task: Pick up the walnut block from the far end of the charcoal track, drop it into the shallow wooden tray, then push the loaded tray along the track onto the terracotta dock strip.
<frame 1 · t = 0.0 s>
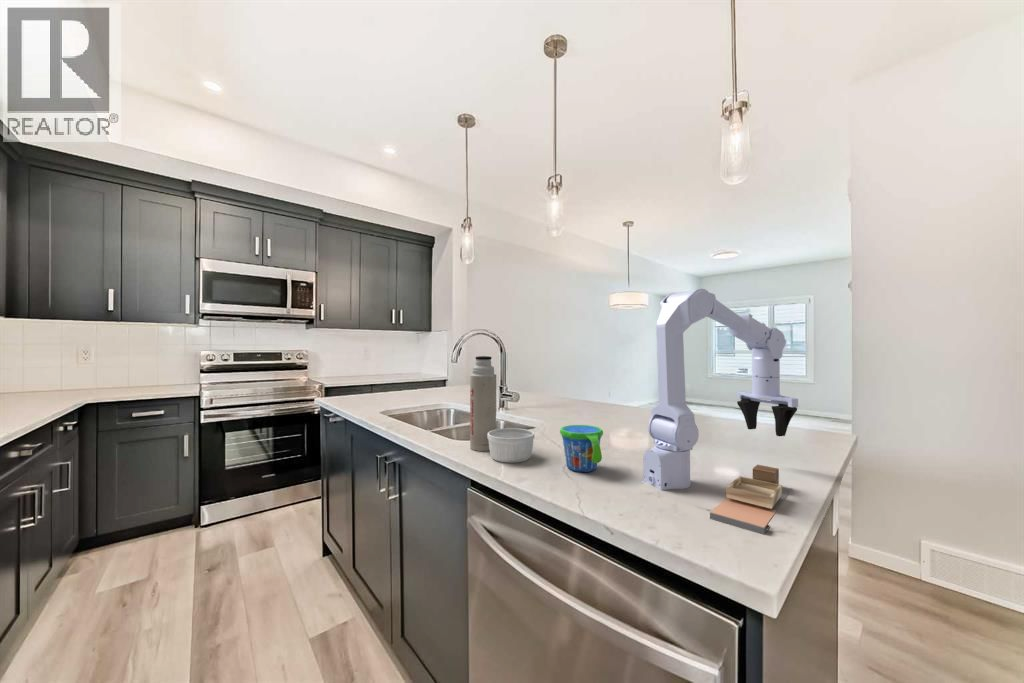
hand: (765, 432, 96), 10 cm above the worktop, tool pointing down, fingers open, 7 cm apart
shallow wooden tray: (754, 492, 78), point 2 cm above the worktop, slide at 0.0 cm
track: (754, 504, 78), on the worktop
block: (765, 487, 84), point 1 cm above the worktop, touching track
ramekin: (511, 458, 110), on the worktop
thermos bottle: (483, 448, 120), on the worktop
snack cup: (581, 469, 100), on the worktop
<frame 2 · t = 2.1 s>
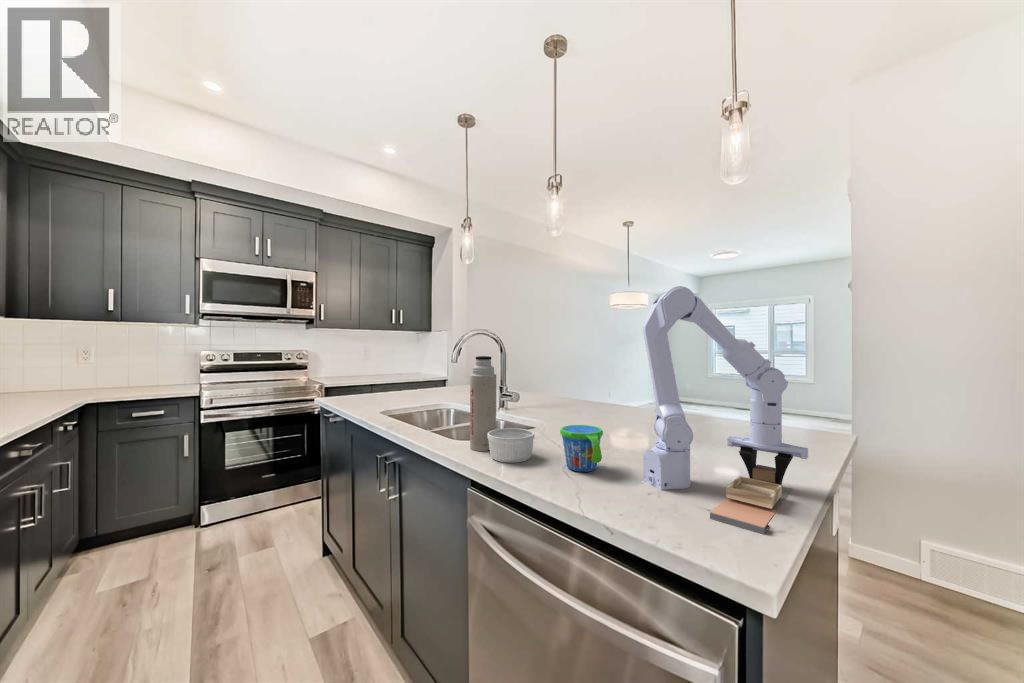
hand: (765, 485, 84), 1 cm above the worktop, tool pointing down, fingers closed on block, 4 cm apart
block: (765, 487, 84), point 1 cm above the worktop, touching gripper, track
everything else where it was.
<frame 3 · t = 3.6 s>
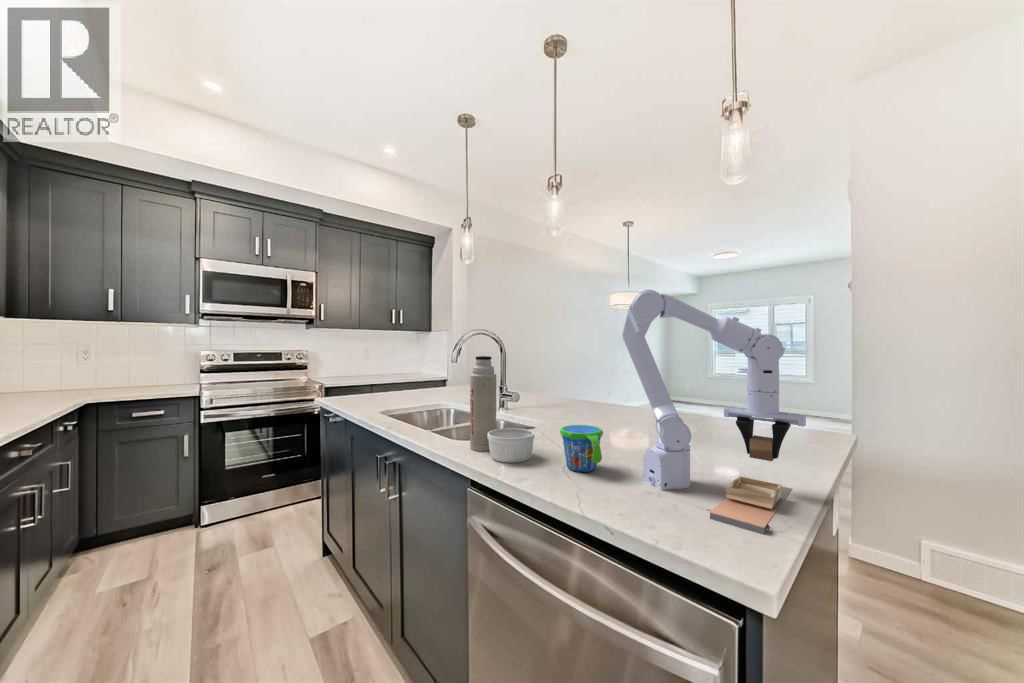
hand: (762, 455, 83), 8 cm above the worktop, tool pointing down, fingers closed on block, 4 cm apart
block: (762, 457, 83), point 8 cm above the worktop, touching gripper
everything else where it was.
when the fingers open (5 cm above the worktop, at t = 5.0 s): block drops 2 cm, resting on shallow wooden tray.
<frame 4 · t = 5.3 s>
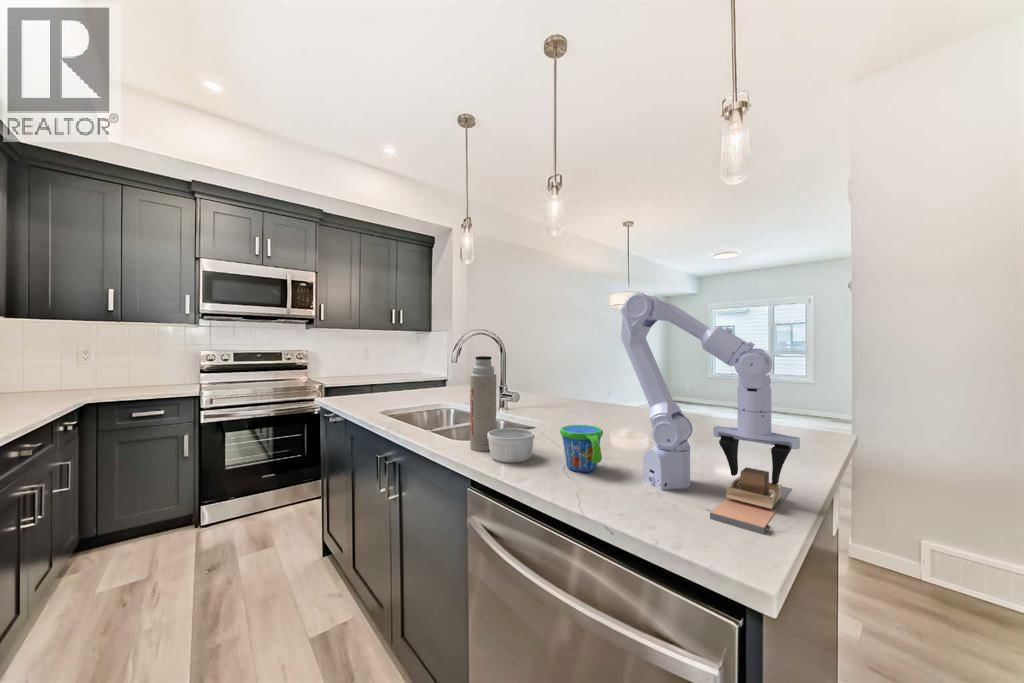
hand: (754, 478, 78), 5 cm above the worktop, tool pointing down, fingers open, 6 cm apart
shallow wooden tray: (754, 492, 78), point 2 cm above the worktop, slide at 0.0 cm, touching block
block: (754, 491, 78), point 2 cm above the worktop, touching shallow wooden tray
everything else where it was.
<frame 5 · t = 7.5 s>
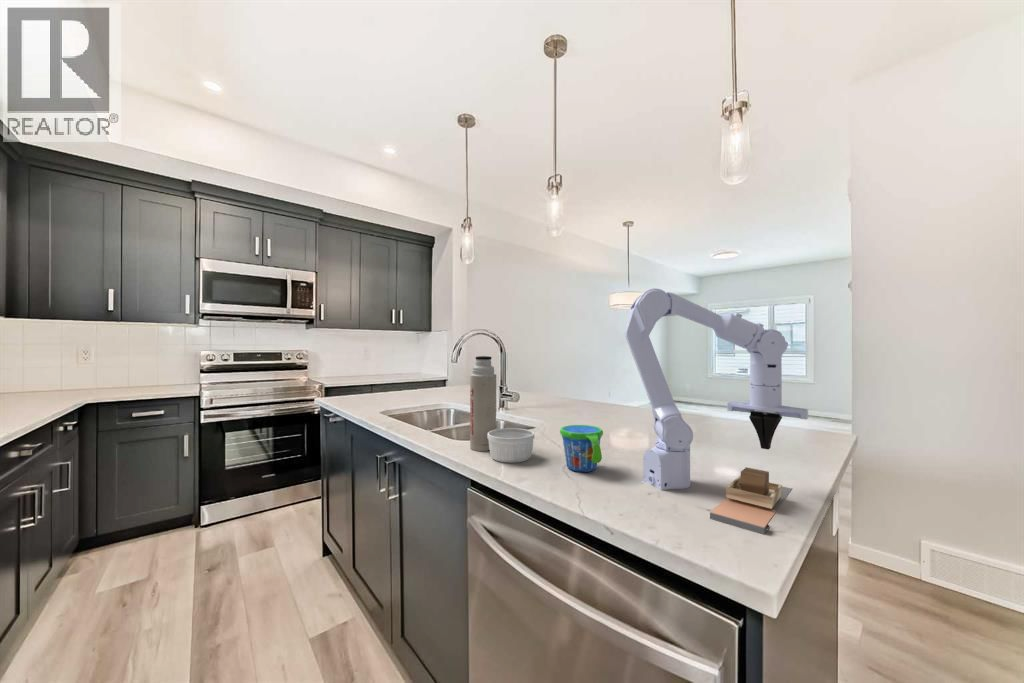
hand: (765, 448, 84), 9 cm above the worktop, tool pointing down, fingers closed
nothing on the worktop moved.
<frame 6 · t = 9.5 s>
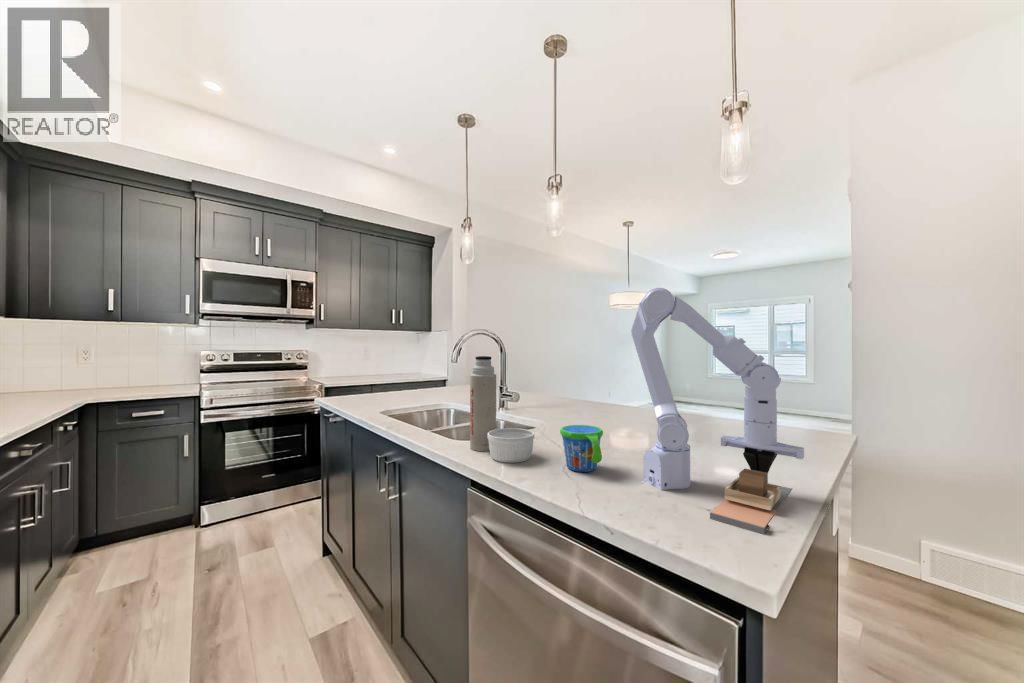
hand: (760, 486, 81), 2 cm above the worktop, tool pointing down, fingers closed, pressing on shallow wooden tray
shallow wooden tray: (752, 493, 77), point 2 cm above the worktop, slide at 1.0 cm, touching block, gripper
block: (753, 493, 77), point 2 cm above the worktop, touching shallow wooden tray
everything else where it was.
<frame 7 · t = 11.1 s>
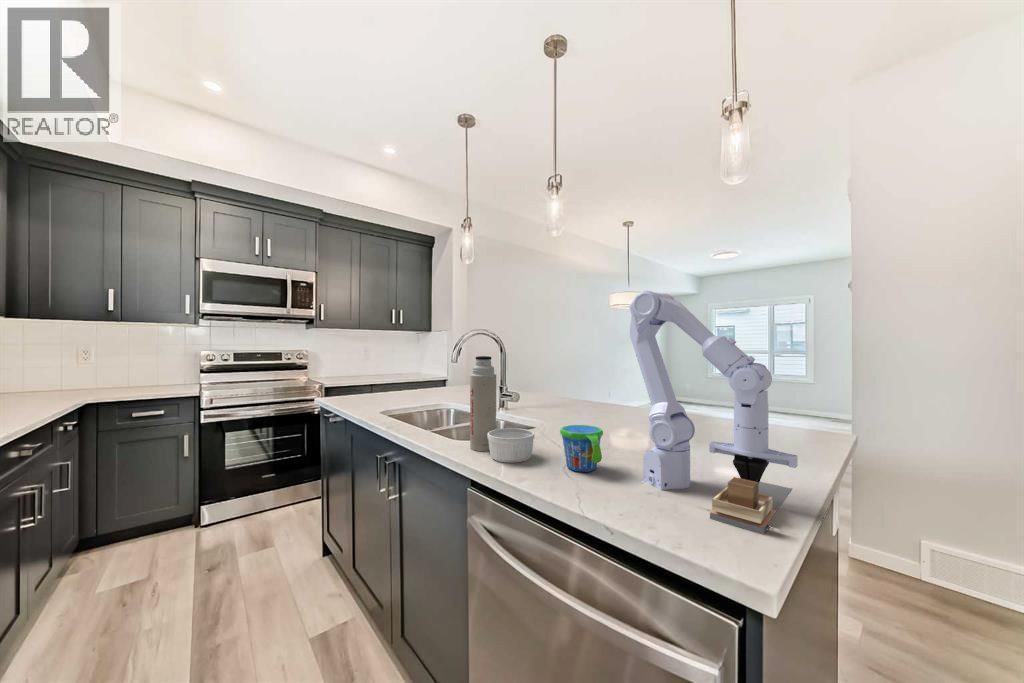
hand: (750, 496, 76), 2 cm above the worktop, tool pointing down, fingers closed, pressing on shallow wooden tray
shallow wooden tray: (742, 504, 72), point 2 cm above the worktop, slide at 8.2 cm, touching block, gripper
block: (743, 504, 72), point 2 cm above the worktop, touching shallow wooden tray
everything else where it was.
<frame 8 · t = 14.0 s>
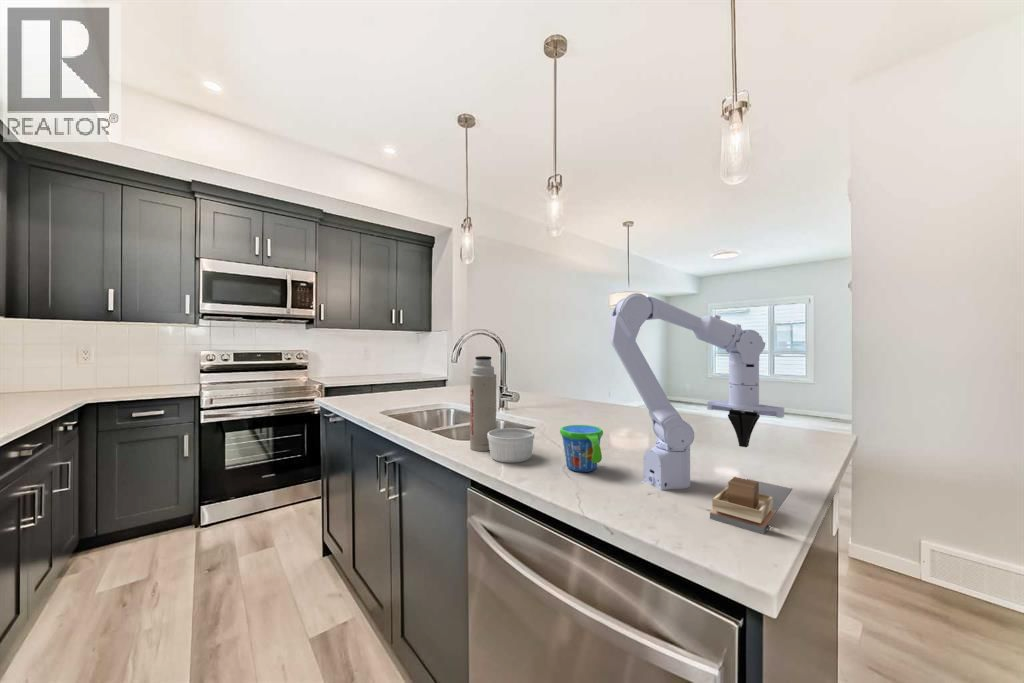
hand: (743, 446, 86), 9 cm above the worktop, tool pointing down, fingers closed
shallow wooden tray: (742, 504, 72), point 2 cm above the worktop, slide at 8.0 cm, touching block
everything else where it was.
at the end: shallow wooden tray slide at 8.0 cm; block 0.1 cm from the target spot, point 2.5 cm above the worktop; block tilted 0° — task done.
